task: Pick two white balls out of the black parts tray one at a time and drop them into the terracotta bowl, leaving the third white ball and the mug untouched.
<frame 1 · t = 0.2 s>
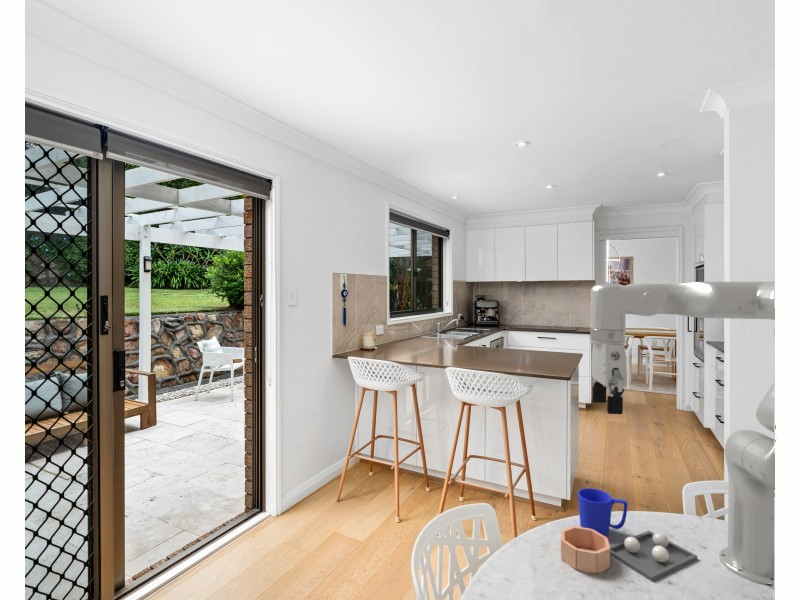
hand: (606, 407, 104), 36 cm above the table, tool pointing down, fingers open, 9 cm apart
white ball 3: (660, 547, 109), resting on tray
white ball 2: (632, 551, 107), resting on tray
tray: (650, 556, 105), on the table
bowl: (584, 559, 104), on the table
mug: (602, 533, 116), on the table
white ball 1: (660, 561, 103), resting on tray
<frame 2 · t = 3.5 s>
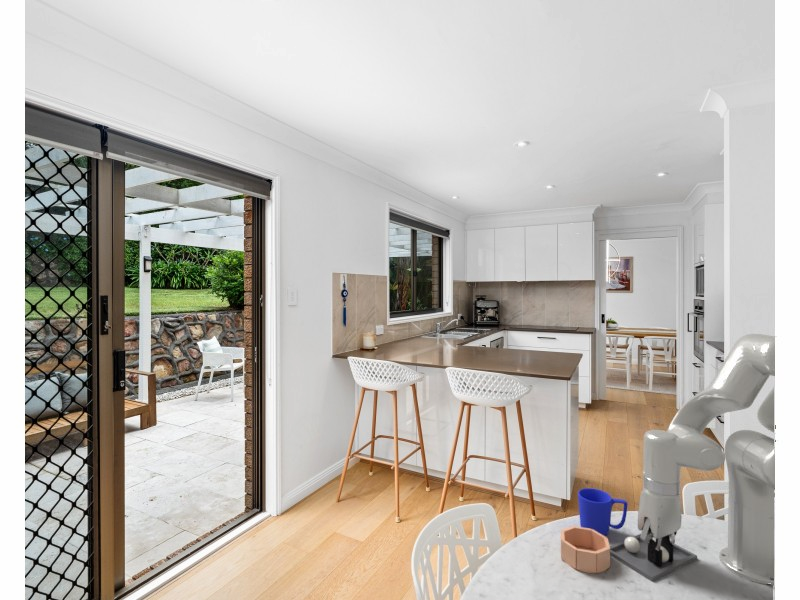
hand: (660, 560, 103), 1 cm above the table, tool pointing down, fingers closed on white ball 1, 3 cm apart
white ball 1: (660, 561, 103), resting on tray, touching gripper
everything else where it was.
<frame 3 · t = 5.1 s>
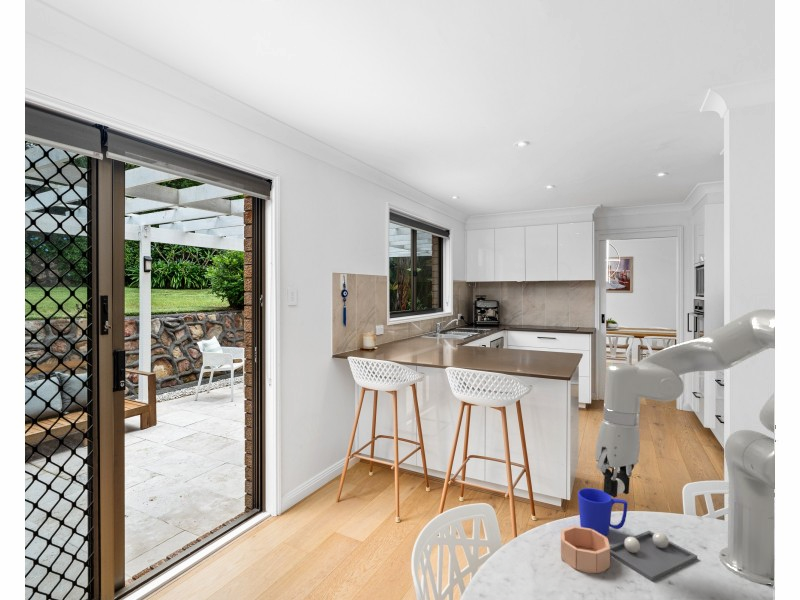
hand: (616, 492, 103), 17 cm above the table, tool pointing down, fingers closed on white ball 1, 3 cm apart
white ball 1: (616, 493, 103), point 16 cm above the table, touching gripper
everything else where it was.
when the fingers open (6 cm above the table, at t = 7.2 s): white ball 1 drops 5 cm, resting on bowl.
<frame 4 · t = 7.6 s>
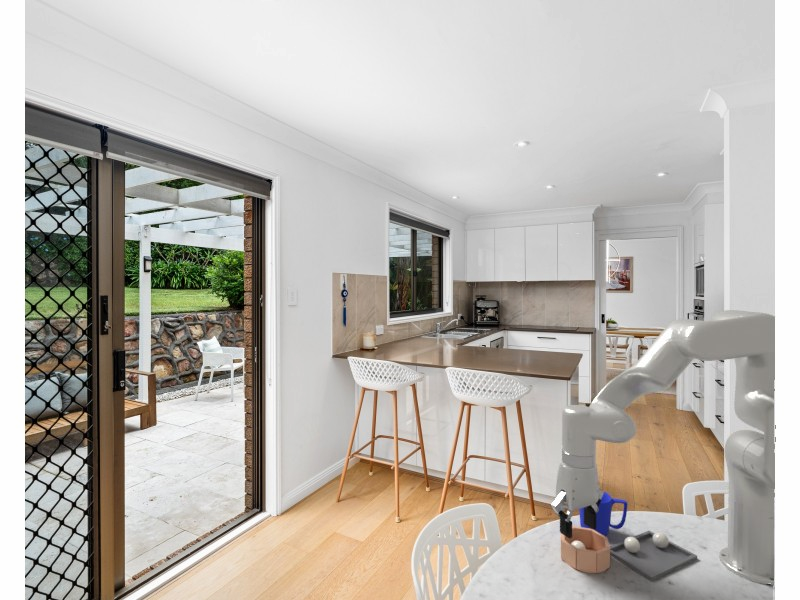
hand: (578, 530, 105), 7 cm above the table, tool pointing down, fingers open, 7 cm apart
white ball 1: (578, 555, 105), point 1 cm above the table, touching bowl
everything else where it was.
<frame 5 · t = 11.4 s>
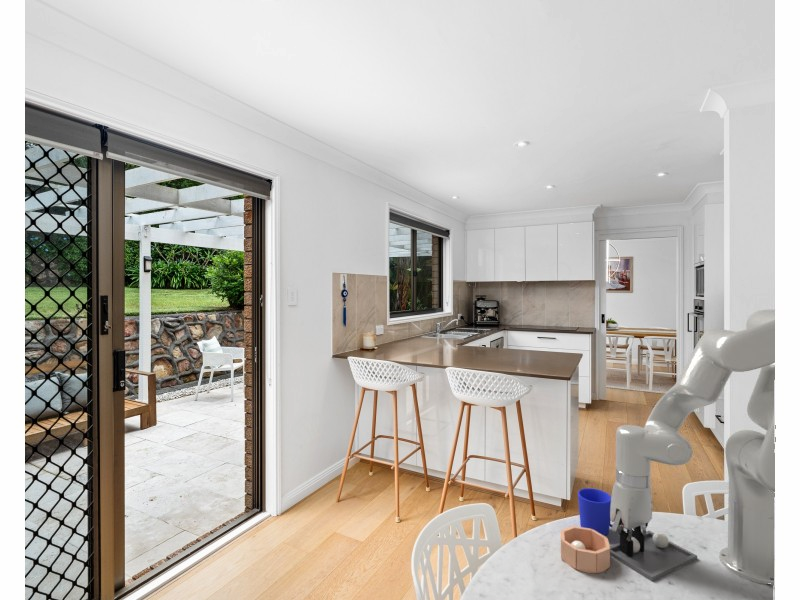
hand: (631, 550, 107), 1 cm above the table, tool pointing down, fingers closed on white ball 2, 3 cm apart
white ball 2: (632, 551, 107), resting on tray, touching gripper
everything else where it was.
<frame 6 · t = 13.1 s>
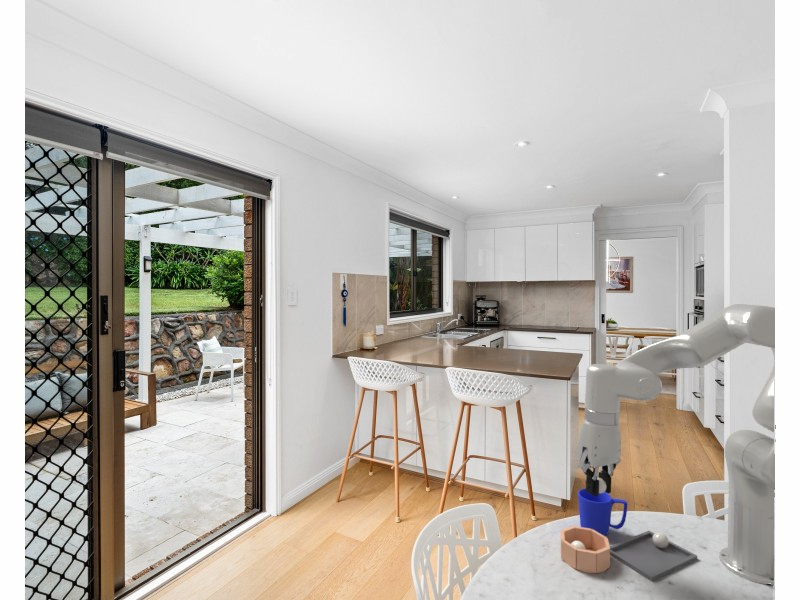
hand: (598, 491, 104), 16 cm above the table, tool pointing down, fingers closed on white ball 2, 3 cm apart
white ball 2: (598, 492, 104), point 16 cm above the table, touching gripper
everything else where it was.
when the fingers open (6 cm above the table, at t = 14.9 s): white ball 2 drops 4 cm and tips over, resting on bowl.
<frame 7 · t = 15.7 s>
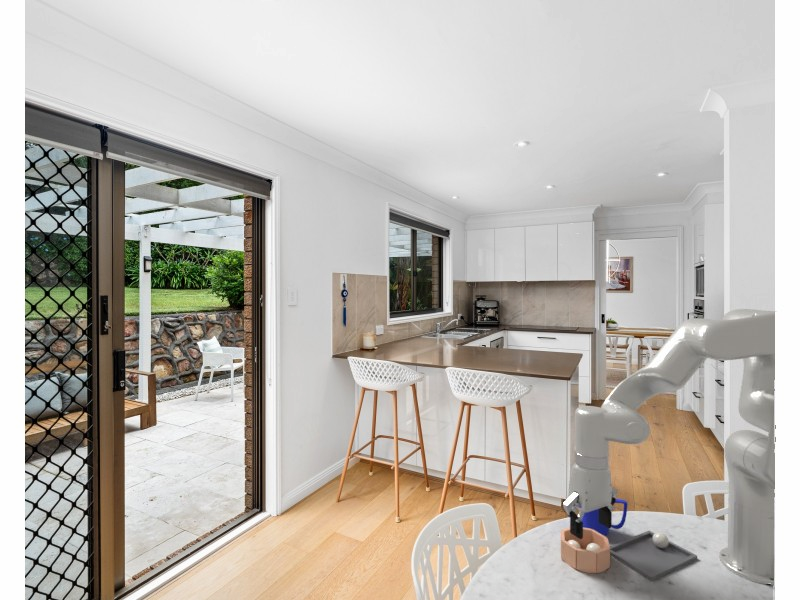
hand: (590, 530, 104), 7 cm above the table, tool pointing down, fingers open, 9 cm apart
white ball 2: (586, 551, 104), point 2 cm above the table, tilted 75°, touching bowl
white ball 1: (577, 554, 105), point 1 cm above the table, tilted 38°, touching bowl
everything else where it was.
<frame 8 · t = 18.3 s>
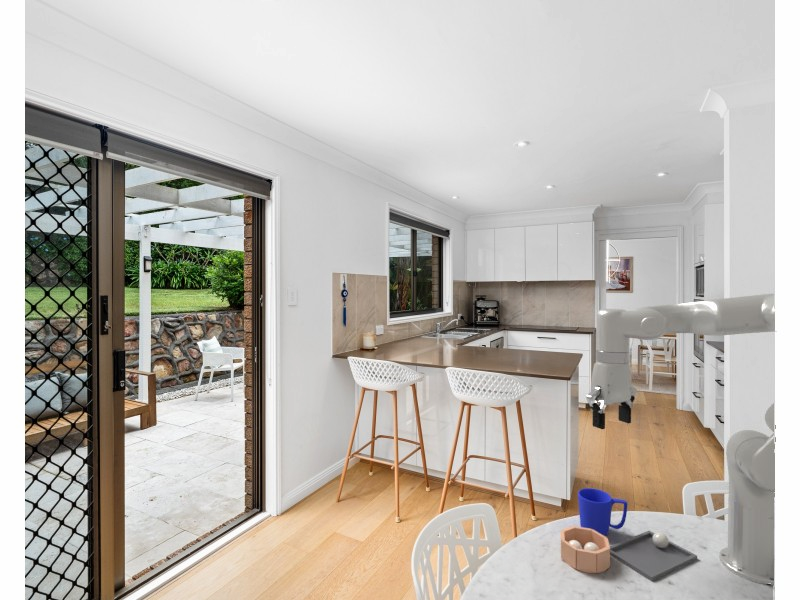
hand: (611, 424, 110), 30 cm above the table, tool pointing down, fingers open, 9 cm apart
white ball 2: (585, 553, 104), point 1 cm above the table, tilted 59°, touching bowl
white ball 1: (577, 555, 105), point 1 cm above the table, tilted 26°, touching bowl
everything else where it was.
at the end: white ball 1 inside the target area on the bowl (1.4 cm from its centre), point 0.8 cm above the bowl's base; white ball 2 inside the target area on the bowl (0.2 cm from its centre), point 1.5 cm above the bowl's base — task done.
